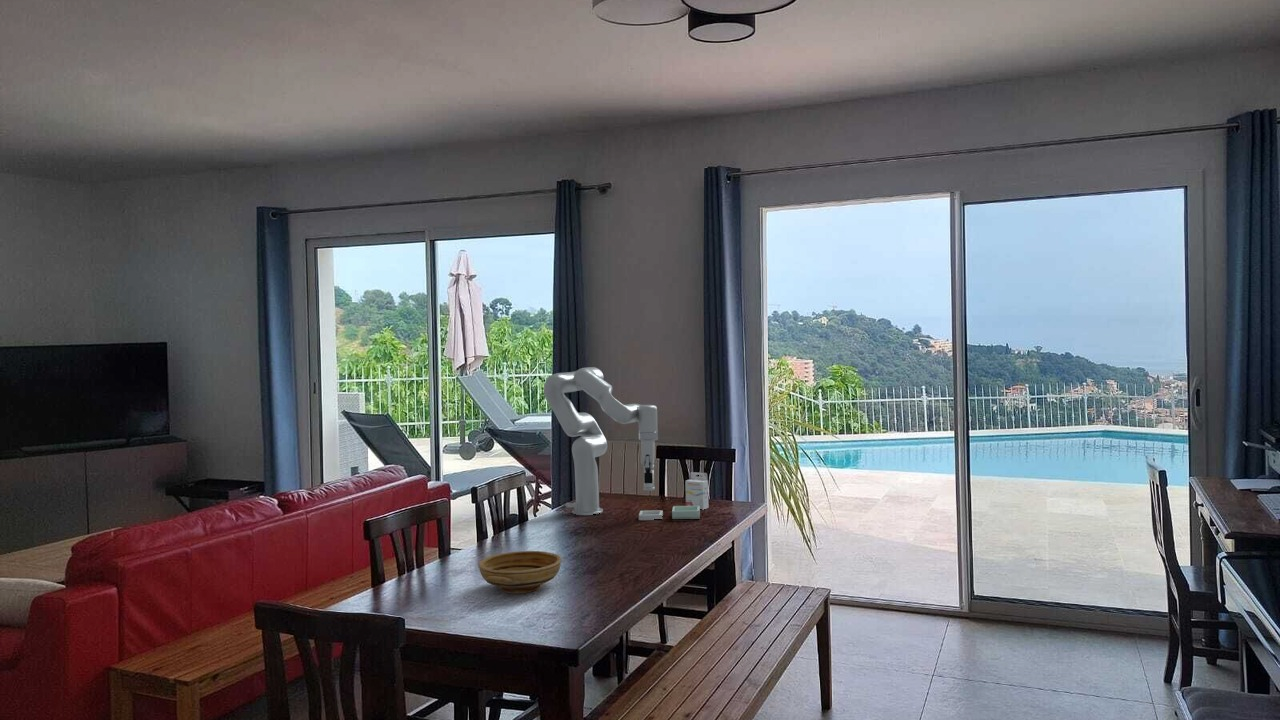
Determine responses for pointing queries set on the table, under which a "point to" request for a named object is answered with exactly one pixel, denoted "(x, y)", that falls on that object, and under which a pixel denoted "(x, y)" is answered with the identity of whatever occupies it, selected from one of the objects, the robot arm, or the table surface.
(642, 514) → the white square dish
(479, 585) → the table surface
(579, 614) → the table surface
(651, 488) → the fuse
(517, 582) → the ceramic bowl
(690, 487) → the ink cartridge box
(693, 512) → the tray
